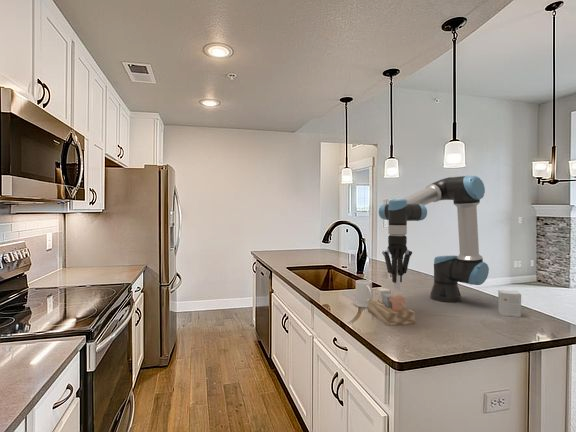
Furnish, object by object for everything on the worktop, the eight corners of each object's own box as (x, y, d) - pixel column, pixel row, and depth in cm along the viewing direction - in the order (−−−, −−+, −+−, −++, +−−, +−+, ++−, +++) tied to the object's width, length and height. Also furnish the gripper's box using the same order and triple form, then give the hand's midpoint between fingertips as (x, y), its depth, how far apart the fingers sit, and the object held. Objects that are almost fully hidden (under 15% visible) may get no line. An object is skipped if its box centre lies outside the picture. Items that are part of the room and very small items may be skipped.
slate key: (392, 309, 160) (392, 293, 160) (397, 312, 156) (397, 296, 156) (382, 309, 160) (382, 294, 159) (387, 312, 155) (387, 296, 155)
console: (392, 310, 169) (392, 299, 168) (414, 323, 149) (414, 311, 149) (368, 311, 166) (368, 300, 166) (387, 325, 147) (387, 313, 147)
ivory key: (386, 302, 167) (386, 288, 167) (390, 305, 162) (390, 290, 162) (376, 303, 166) (376, 288, 166) (381, 306, 161) (381, 290, 161)
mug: (377, 308, 171) (377, 284, 170) (361, 309, 169) (361, 285, 169) (368, 302, 182) (368, 279, 182) (352, 303, 181) (352, 280, 180)
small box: (517, 313, 162) (517, 291, 162) (521, 317, 157) (521, 293, 156) (497, 312, 165) (498, 289, 164) (500, 315, 159) (501, 292, 159)
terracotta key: (399, 310, 154) (399, 294, 154) (405, 313, 149) (405, 297, 149) (389, 311, 153) (389, 295, 153) (394, 314, 148) (394, 298, 148)
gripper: (406, 234, 155) (406, 287, 156) (379, 234, 153) (378, 288, 153) (416, 235, 148) (415, 291, 148) (387, 235, 146) (386, 292, 146)
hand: (396, 289), depth 151 cm, fingers closed
